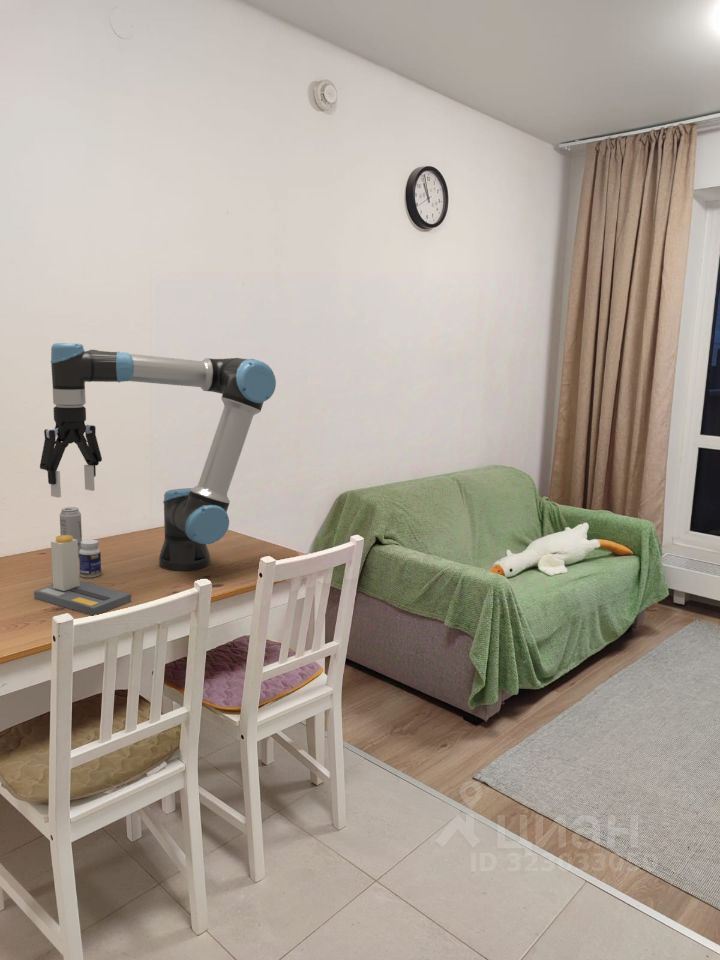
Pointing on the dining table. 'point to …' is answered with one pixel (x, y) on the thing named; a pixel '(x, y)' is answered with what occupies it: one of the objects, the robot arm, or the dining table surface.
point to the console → (84, 597)
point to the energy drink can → (71, 524)
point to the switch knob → (65, 562)
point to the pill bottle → (90, 559)
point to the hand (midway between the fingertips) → (73, 493)
